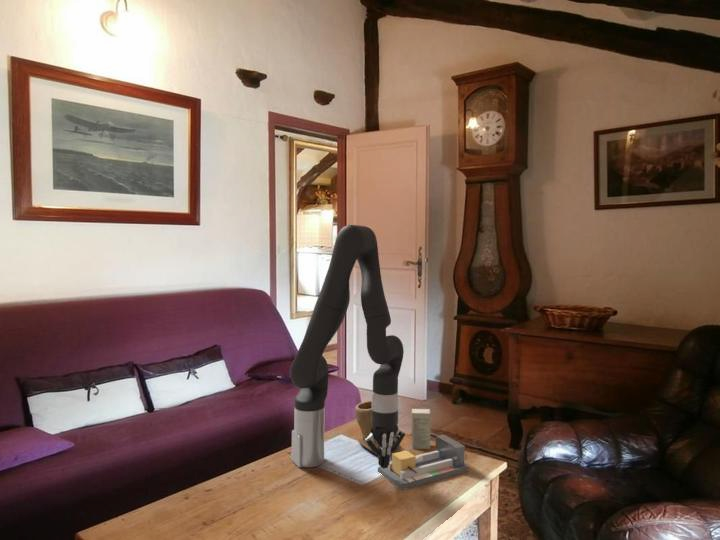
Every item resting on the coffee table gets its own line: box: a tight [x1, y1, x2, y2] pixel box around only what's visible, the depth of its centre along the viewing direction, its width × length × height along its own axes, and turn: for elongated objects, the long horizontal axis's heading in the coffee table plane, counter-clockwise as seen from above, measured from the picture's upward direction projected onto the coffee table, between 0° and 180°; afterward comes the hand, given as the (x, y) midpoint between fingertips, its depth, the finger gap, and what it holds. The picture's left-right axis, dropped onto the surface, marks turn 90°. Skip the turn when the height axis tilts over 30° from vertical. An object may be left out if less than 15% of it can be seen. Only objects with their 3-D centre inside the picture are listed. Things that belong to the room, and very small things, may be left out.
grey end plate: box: [435, 434, 466, 468], centre depth 159 cm, size 3×10×6 cm, turn 29°
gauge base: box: [377, 450, 469, 491], centre depth 155 cm, size 24×12×4 cm, turn 119°
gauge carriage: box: [391, 449, 424, 475], centre depth 150 cm, size 9×9×5 cm
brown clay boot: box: [354, 400, 403, 455], centre depth 171 cm, size 15×12×15 cm
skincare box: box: [411, 408, 431, 450], centre depth 172 cm, size 6×4×12 cm
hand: (383, 467), depth 148 cm, fingers closed
